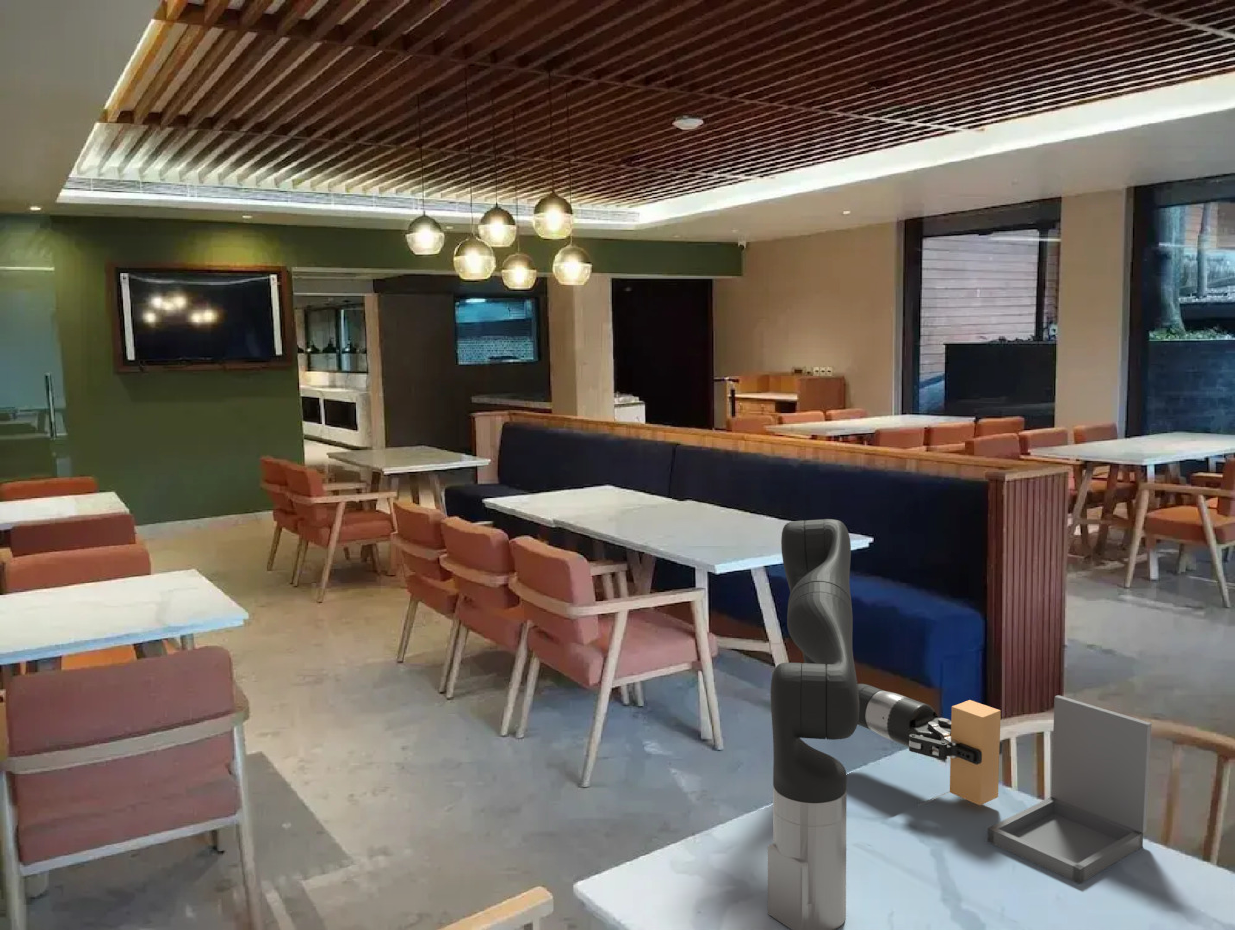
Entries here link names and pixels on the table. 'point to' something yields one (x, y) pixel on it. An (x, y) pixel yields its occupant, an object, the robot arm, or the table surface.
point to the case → (1086, 794)
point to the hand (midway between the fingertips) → (990, 753)
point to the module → (982, 733)
